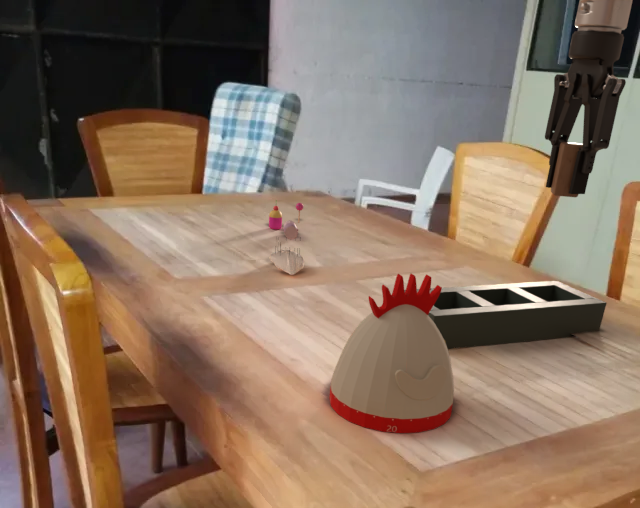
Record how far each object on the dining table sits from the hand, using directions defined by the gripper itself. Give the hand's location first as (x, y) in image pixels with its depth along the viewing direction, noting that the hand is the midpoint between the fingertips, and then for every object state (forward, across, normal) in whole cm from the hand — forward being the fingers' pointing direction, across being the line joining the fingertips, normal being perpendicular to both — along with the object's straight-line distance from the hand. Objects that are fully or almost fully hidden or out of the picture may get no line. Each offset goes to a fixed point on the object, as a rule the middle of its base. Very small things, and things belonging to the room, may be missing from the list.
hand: (564, 190), depth 118 cm
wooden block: (+1, 0, 0) cm, 1 cm away
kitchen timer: (+18, +34, -48) cm, 62 cm away
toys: (+17, -50, -30) cm, 61 cm away
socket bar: (+17, +15, -21) cm, 31 cm away
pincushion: (+17, -21, -41) cm, 49 cm away
